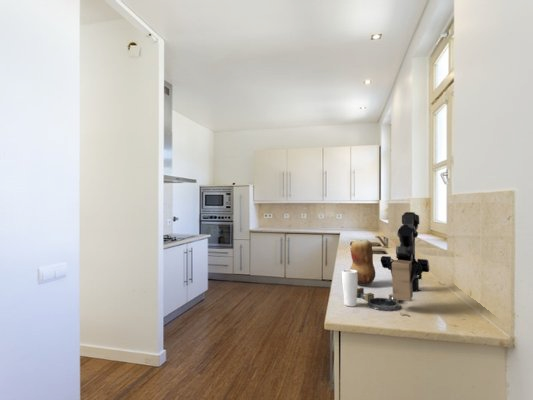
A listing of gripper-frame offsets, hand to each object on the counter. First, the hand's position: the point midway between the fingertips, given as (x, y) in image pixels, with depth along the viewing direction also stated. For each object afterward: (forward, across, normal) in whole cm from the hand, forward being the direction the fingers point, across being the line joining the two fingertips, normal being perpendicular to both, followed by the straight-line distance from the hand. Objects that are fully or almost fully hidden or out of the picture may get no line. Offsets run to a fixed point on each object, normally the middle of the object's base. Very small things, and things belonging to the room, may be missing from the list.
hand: (401, 280), depth 125 cm
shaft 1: (+4, -18, +14) cm, 23 cm away
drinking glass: (+12, -20, +5) cm, 25 cm away
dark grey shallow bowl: (+8, -8, +10) cm, 15 cm away
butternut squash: (-13, -26, +31) cm, 43 cm away
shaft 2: (0, -4, +17) cm, 18 cm away
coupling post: (+4, 0, +6) cm, 7 cm away
